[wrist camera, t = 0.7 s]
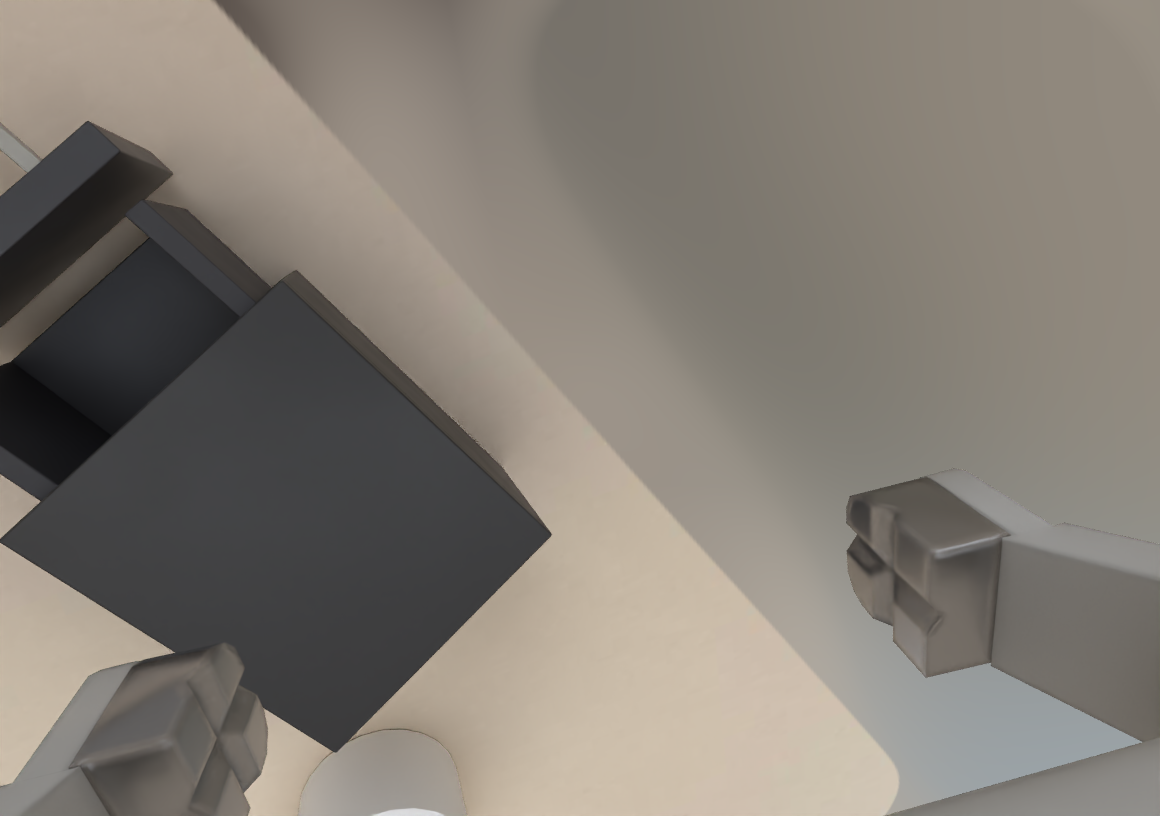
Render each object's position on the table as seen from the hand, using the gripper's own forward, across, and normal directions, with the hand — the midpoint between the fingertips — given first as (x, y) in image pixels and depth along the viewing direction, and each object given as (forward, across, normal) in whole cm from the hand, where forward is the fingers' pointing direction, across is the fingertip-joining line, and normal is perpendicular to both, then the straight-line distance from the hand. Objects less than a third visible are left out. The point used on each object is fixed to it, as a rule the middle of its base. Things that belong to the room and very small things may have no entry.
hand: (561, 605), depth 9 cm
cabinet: (+26, +10, +8) cm, 29 cm away
